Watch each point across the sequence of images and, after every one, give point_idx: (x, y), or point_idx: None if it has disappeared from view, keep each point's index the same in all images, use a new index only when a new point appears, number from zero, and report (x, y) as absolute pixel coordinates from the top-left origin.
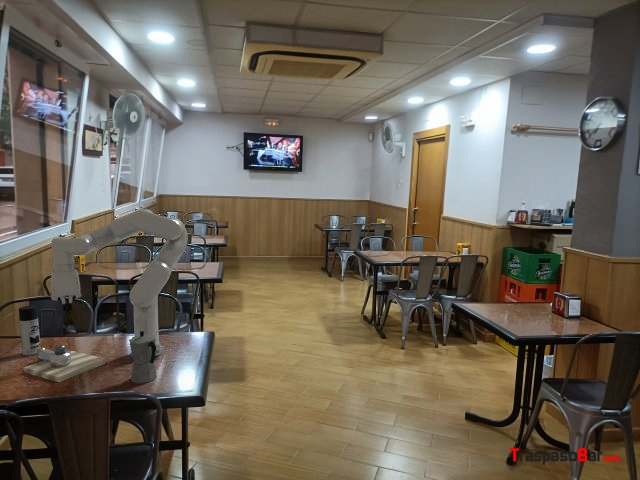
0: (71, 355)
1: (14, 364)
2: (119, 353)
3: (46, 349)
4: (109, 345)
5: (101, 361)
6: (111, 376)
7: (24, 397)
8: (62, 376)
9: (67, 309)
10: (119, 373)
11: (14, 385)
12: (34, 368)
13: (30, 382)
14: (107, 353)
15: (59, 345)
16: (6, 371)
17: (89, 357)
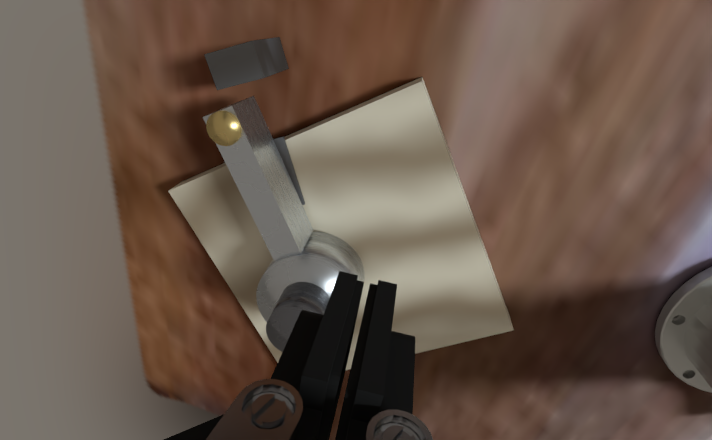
0: (394, 170)
1: (125, 12)
2: (639, 230)
3: (250, 158)
4: (696, 27)
5: (489, 331)
6: (464, 435)
7: (194, 399)
8: None
9: (337, 401)
10: (500, 432)
11: (157, 292)
12: (211, 236)
13: (208, 303)
14: (591, 184)
15: (294, 324)
16: (104, 106)
17: (460, 265)
